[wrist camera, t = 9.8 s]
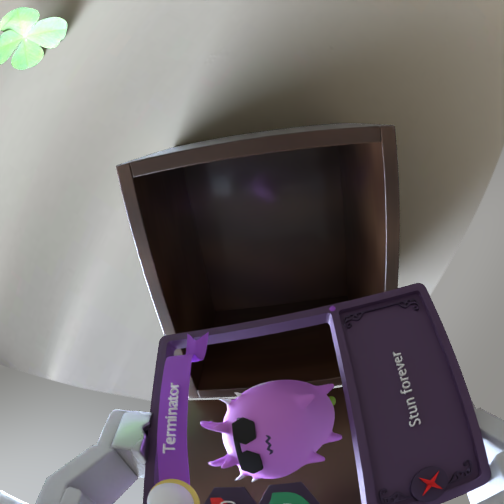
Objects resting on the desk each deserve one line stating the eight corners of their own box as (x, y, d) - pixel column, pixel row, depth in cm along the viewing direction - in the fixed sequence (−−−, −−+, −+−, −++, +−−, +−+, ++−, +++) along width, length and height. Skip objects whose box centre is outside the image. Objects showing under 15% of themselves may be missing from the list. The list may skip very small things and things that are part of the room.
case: (172, 147, 24) (115, 165, 14) (342, 122, 23) (395, 125, 13) (210, 314, 30) (188, 398, 20) (353, 296, 29) (388, 376, 19)
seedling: (61, 35, 24) (67, 60, 22) (-5, 55, 20) (-9, 85, 19) (64, -21, 18) (68, -5, 16) (-11, 0, 14) (-19, 21, 13)
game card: (504, 477, 4) (126, 528, 5) (445, 493, 7) (205, 530, 9) (425, 265, 9) (149, 324, 10) (407, 347, 12) (207, 387, 14)
